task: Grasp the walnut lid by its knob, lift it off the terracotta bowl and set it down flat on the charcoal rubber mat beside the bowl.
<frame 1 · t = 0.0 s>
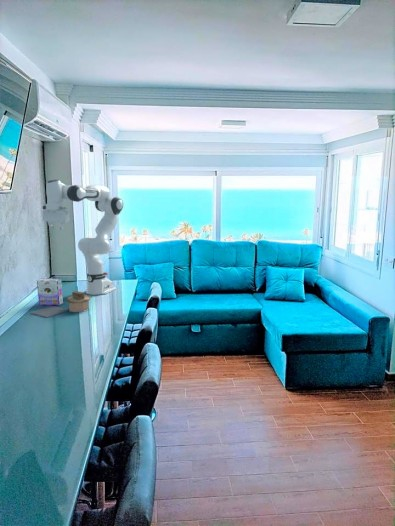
hand: (56, 229, 228), 48 cm above the breakfast bar, fingers open, 8 cm apart
terracotta bowl: (79, 309, 226), on the breakfast bar
walnut lid: (78, 299, 225), point 6 cm above the breakfast bar, touching terracotta bowl
candy box: (51, 304, 236), on the breakfast bar
charcoal mat: (49, 312, 221), on the breakfast bar
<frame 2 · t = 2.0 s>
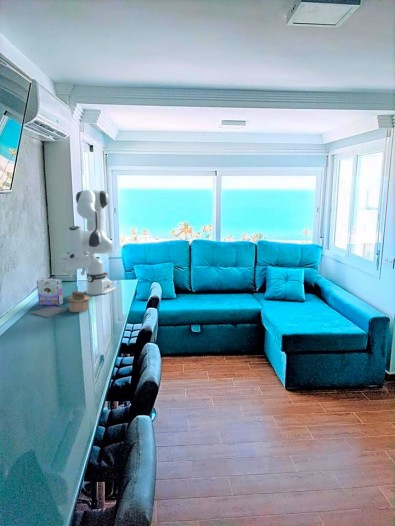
hand: (77, 276, 222), 21 cm above the breakfast bar, fingers open, 8 cm apart
nothing on the breakfast bar moved.
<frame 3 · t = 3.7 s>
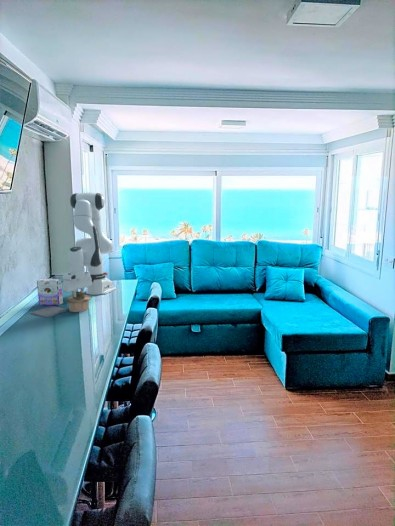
hand: (78, 296, 225), 8 cm above the breakfast bar, fingers closed on walnut lid, 3 cm apart
walnut lid: (78, 299, 225), point 6 cm above the breakfast bar, touching gripper, terracotta bowl
everything else where it was.
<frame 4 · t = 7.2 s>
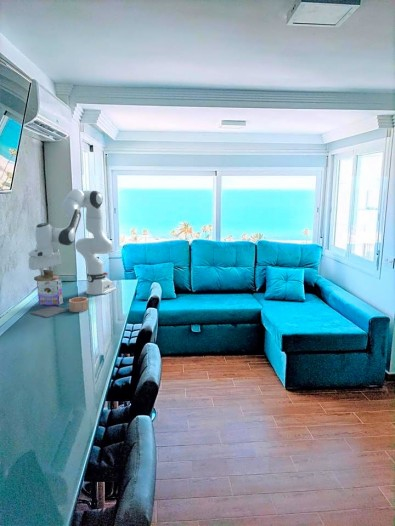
hand: (46, 274, 216), 23 cm above the breakfast bar, fingers closed on walnut lid, 3 cm apart
walnut lid: (47, 278, 216), point 21 cm above the breakfast bar, touching gripper
everything else where it was.
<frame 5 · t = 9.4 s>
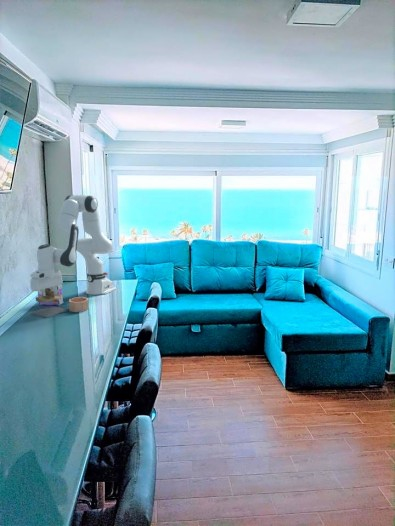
hand: (48, 295, 218), 11 cm above the breakfast bar, fingers closed on walnut lid, 3 cm apart
walnut lid: (48, 298, 219), point 8 cm above the breakfast bar, touching gripper
everything else where it was.
when the fingers open (4 cm above the breakfast bar, at t = 10.9 s): walnut lid drops 2 cm, resting on charcoal mat.
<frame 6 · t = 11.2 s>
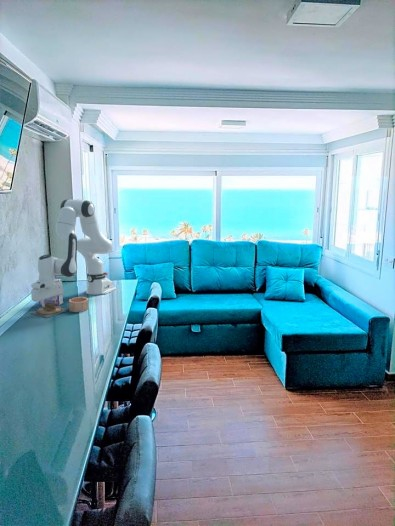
hand: (49, 304, 220), 4 cm above the breakfast bar, fingers open, 5 cm apart
walnut lid: (49, 311, 220), point 1 cm above the breakfast bar, touching charcoal mat
everything else where it was.
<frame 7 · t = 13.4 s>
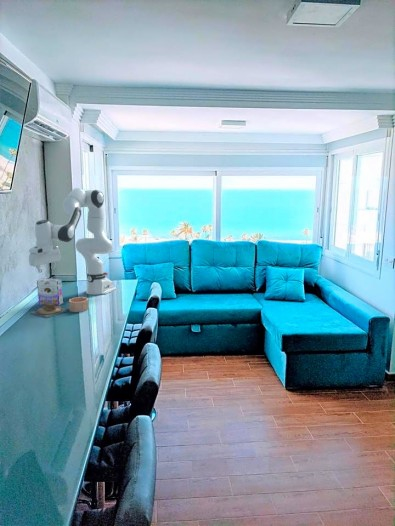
hand: (46, 270, 220), 24 cm above the breakfast bar, fingers open, 8 cm apart
nothing on the breakfast bar moved.
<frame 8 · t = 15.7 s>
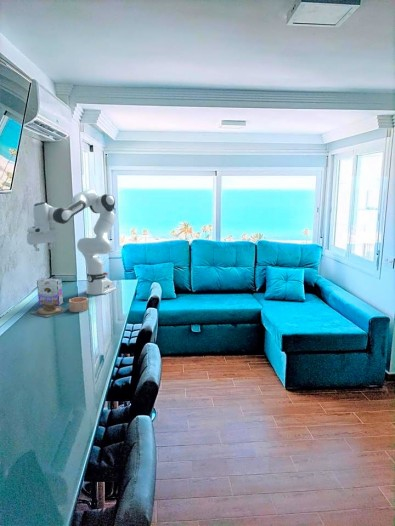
hand: (43, 250, 235), 34 cm above the breakfast bar, fingers open, 8 cm apart
nothing on the breakfast bar moved.
at the end: walnut lid inside the target area on the charcoal mat (0.1 cm from its centre), point 0.6 cm above the charcoal mat's base; walnut lid touching charcoal mat; walnut lid tilted 0° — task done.
